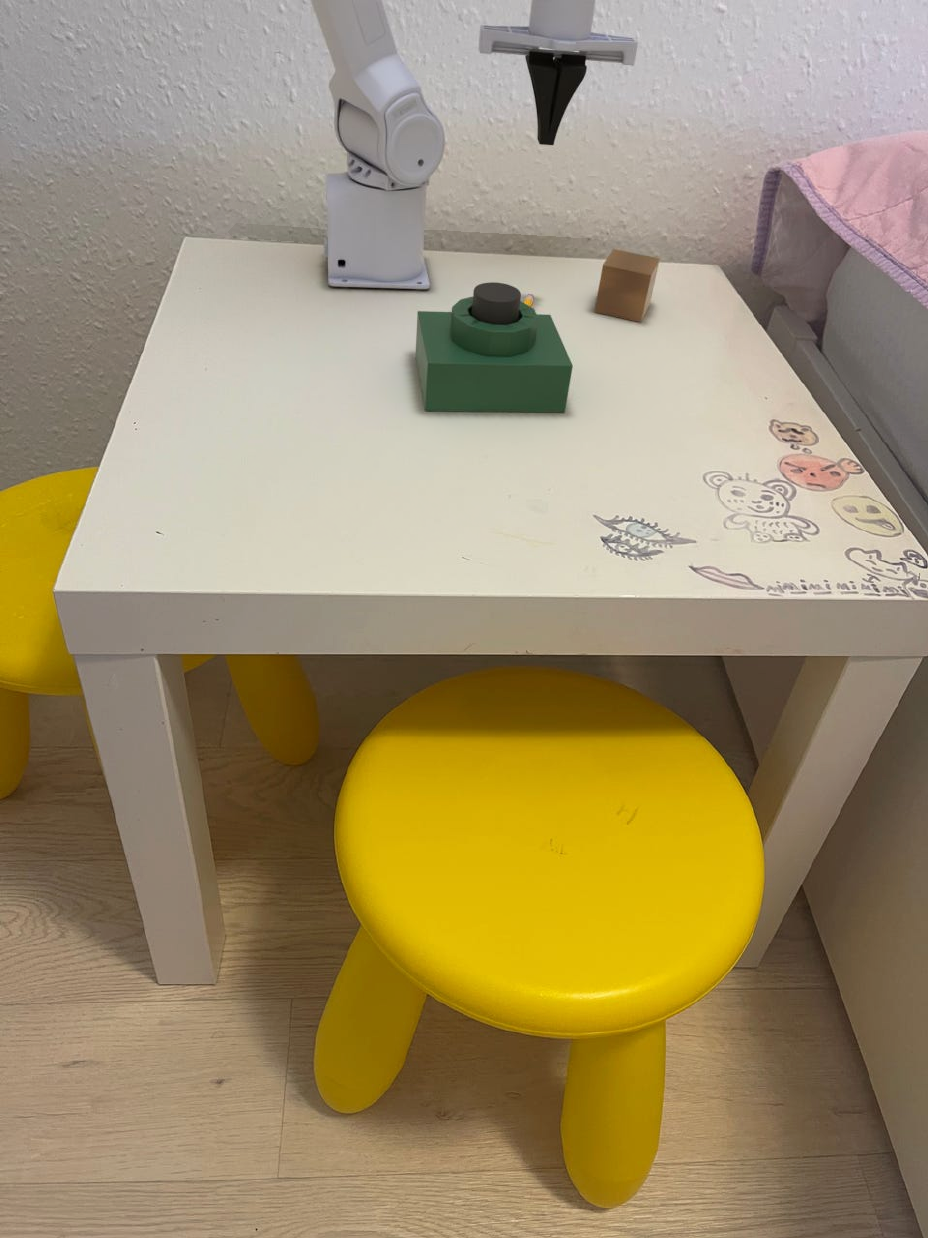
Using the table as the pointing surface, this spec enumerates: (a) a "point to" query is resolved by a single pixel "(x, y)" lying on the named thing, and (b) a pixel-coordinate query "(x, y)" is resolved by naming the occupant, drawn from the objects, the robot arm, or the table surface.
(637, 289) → the block
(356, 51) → the robot arm
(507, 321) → the dark grey push button
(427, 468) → the table surface
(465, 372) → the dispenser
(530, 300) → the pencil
